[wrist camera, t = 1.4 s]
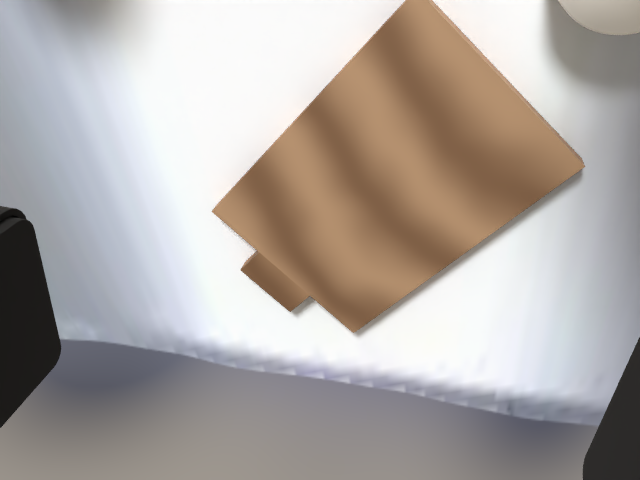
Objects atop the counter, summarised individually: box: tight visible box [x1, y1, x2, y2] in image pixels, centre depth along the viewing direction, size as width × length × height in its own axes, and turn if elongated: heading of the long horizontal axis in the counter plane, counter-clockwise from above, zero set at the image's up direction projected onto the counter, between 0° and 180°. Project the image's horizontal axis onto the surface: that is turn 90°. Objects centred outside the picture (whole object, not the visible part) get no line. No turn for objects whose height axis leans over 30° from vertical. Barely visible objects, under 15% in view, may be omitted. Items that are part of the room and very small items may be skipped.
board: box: [212, 0, 585, 333], centre depth 39 cm, size 22×14×1 cm, turn 139°
